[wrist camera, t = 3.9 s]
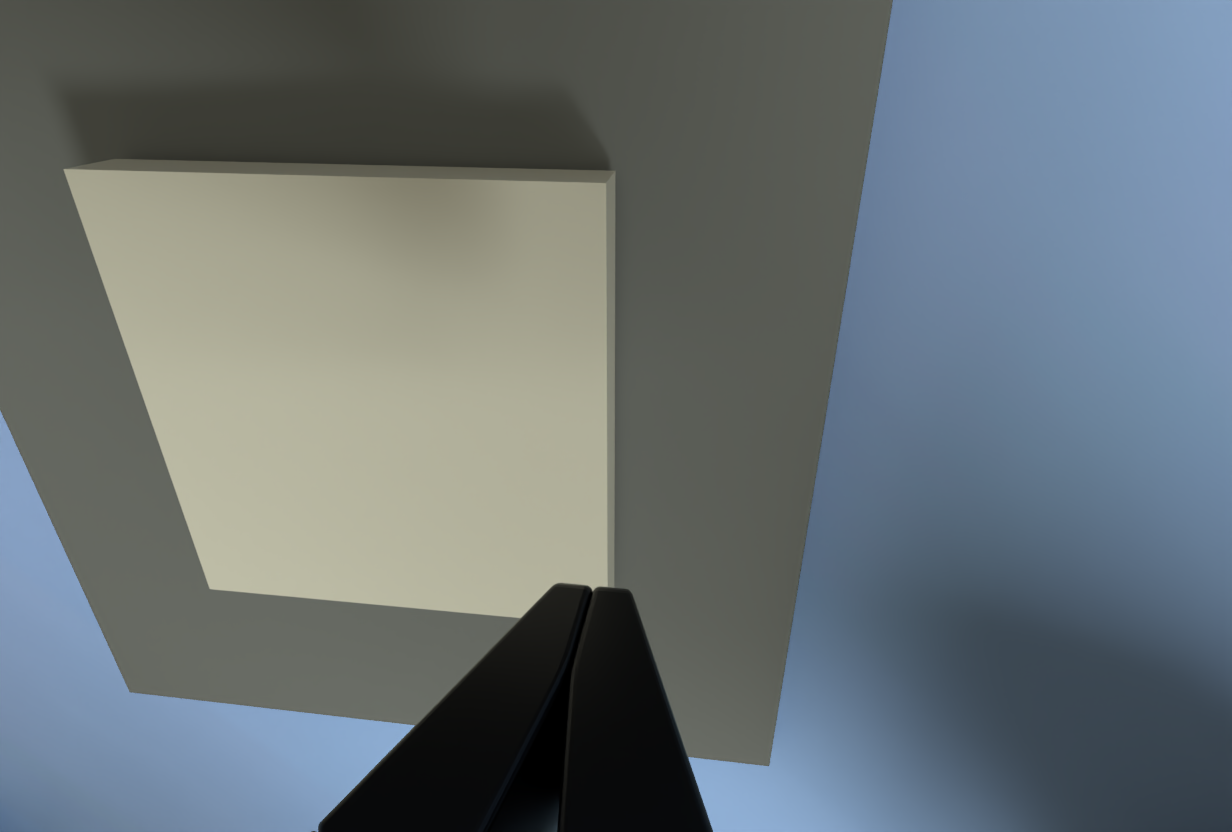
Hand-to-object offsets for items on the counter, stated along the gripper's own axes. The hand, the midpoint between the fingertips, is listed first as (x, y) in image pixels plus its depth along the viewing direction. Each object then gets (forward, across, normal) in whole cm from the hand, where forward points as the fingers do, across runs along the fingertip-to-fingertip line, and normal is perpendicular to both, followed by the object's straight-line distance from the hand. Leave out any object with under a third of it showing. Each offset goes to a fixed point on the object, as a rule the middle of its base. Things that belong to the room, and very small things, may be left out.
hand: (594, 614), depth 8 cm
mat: (+6, +5, 0) cm, 7 cm away
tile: (+5, 0, 0) cm, 5 cm away
